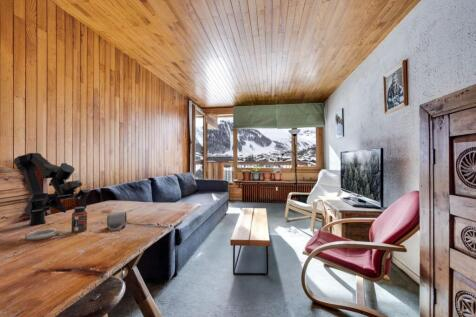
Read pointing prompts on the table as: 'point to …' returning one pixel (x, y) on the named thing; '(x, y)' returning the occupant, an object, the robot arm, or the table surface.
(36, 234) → the ring seat
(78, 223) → the supplement bottle
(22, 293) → the table surface
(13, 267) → the table surface
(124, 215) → the ceramic mug
